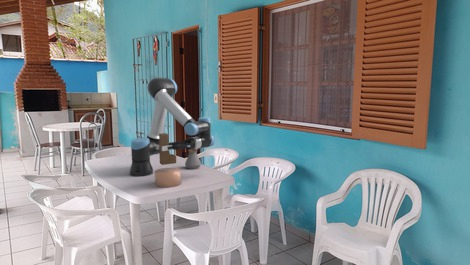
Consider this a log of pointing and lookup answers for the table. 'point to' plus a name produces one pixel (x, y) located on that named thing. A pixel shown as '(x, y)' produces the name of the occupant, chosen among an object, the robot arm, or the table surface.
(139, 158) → the robot arm
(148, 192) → the table surface
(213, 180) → the table surface
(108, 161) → the table surface
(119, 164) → the table surface
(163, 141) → the wooden block
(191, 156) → the coffee pot
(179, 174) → the peach disc
